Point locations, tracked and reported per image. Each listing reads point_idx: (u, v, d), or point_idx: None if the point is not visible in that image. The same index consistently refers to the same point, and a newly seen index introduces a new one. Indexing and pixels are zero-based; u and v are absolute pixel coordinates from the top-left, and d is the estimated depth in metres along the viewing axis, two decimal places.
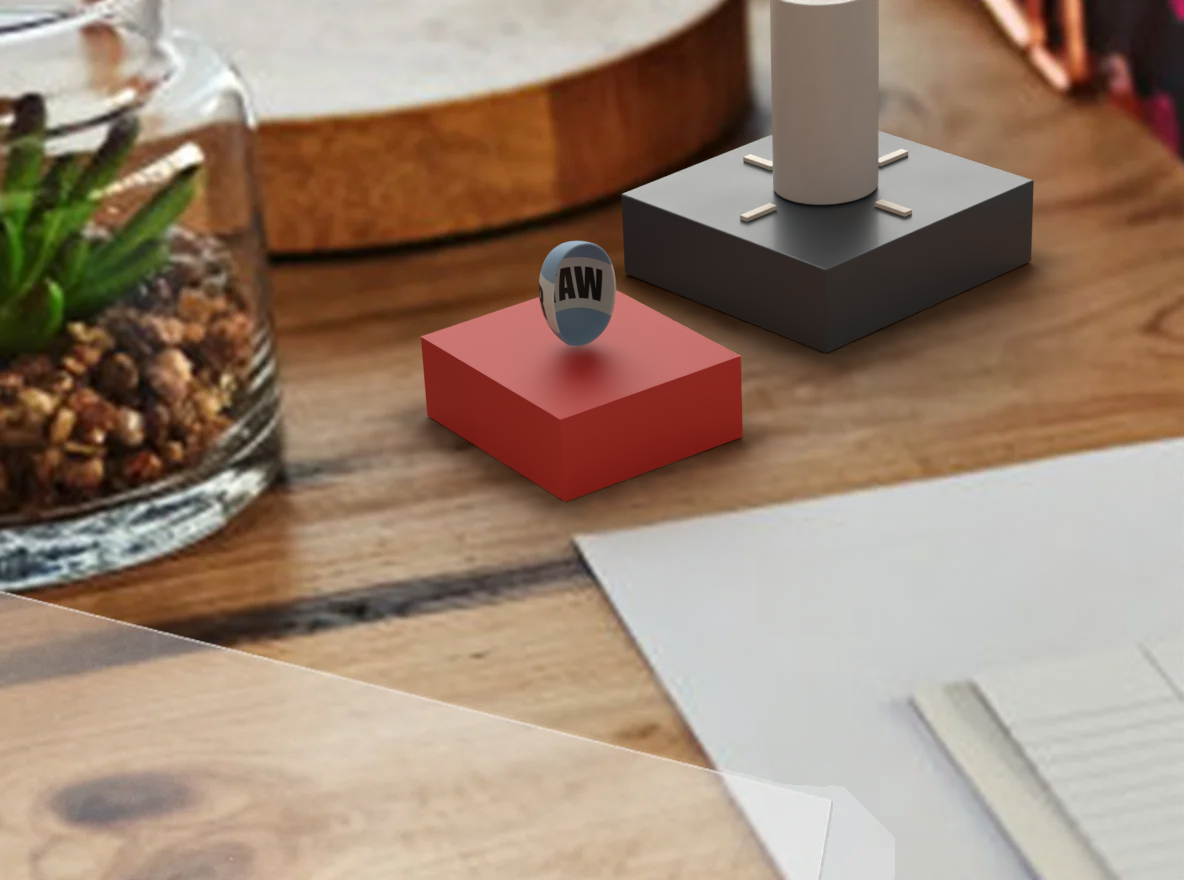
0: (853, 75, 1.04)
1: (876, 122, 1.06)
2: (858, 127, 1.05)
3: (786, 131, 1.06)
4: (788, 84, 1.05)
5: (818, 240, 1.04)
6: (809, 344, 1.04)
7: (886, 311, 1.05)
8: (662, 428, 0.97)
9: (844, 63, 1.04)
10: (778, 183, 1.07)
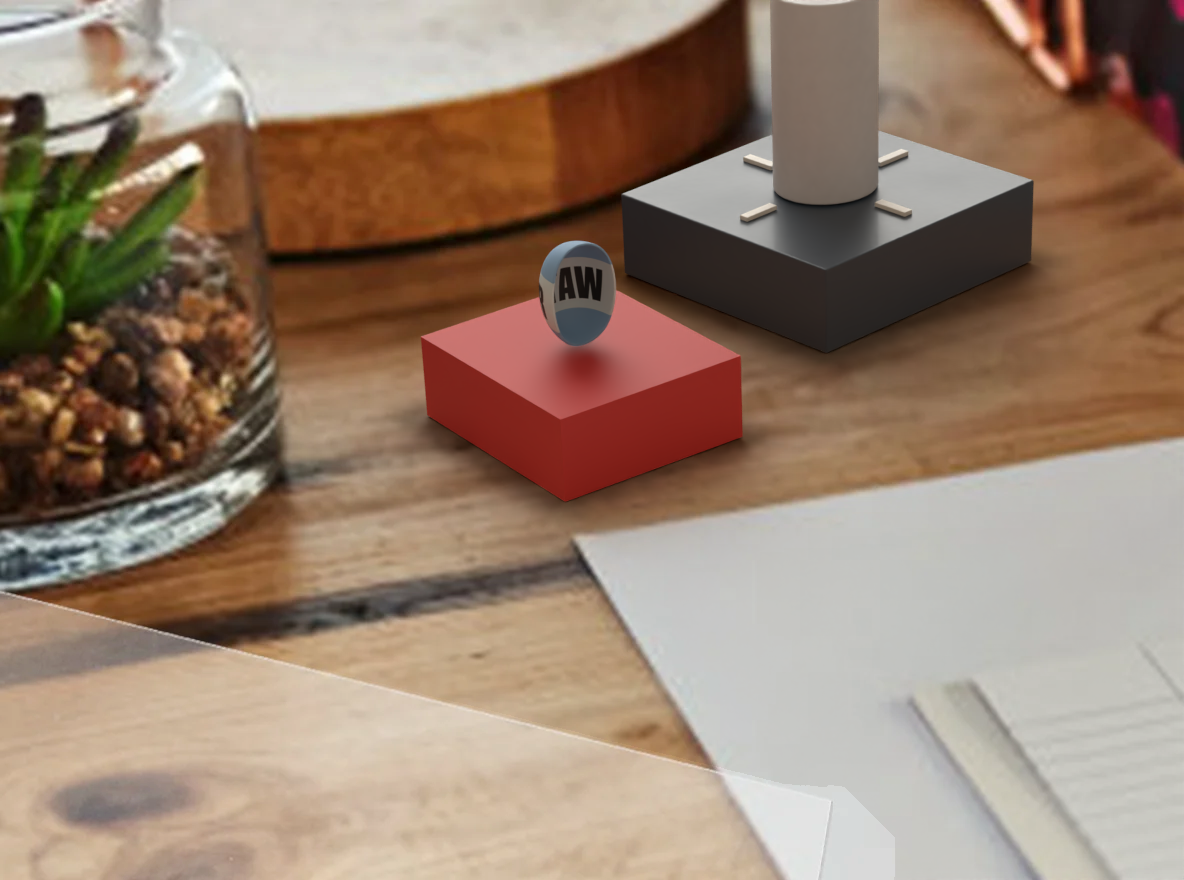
0: (853, 75, 1.04)
1: (876, 122, 1.06)
2: (858, 127, 1.05)
3: (786, 131, 1.06)
4: (788, 84, 1.05)
5: (818, 240, 1.04)
6: (809, 344, 1.04)
7: (886, 311, 1.05)
8: (662, 428, 0.97)
9: (844, 63, 1.04)
10: (778, 183, 1.07)
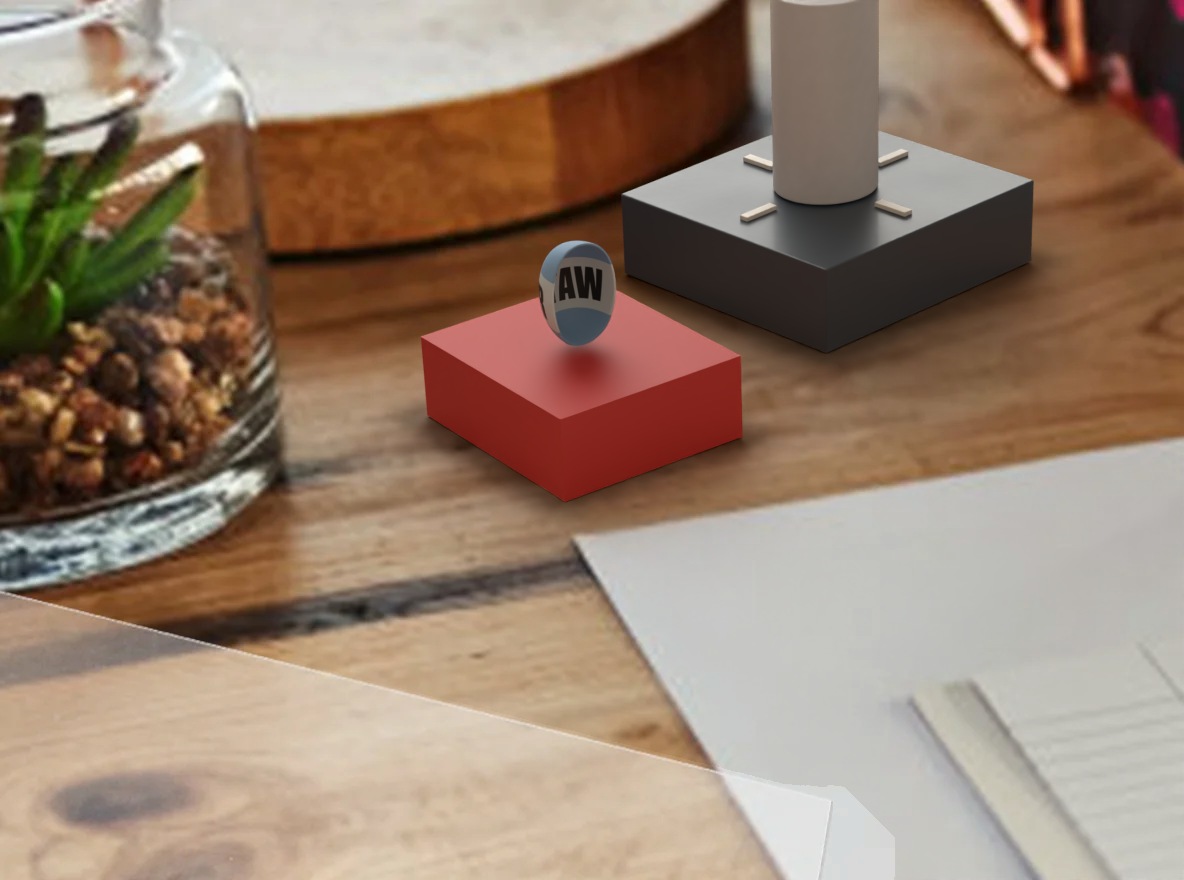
0: (853, 75, 1.04)
1: (876, 122, 1.06)
2: (858, 127, 1.05)
3: (786, 131, 1.06)
4: (788, 84, 1.05)
5: (818, 240, 1.04)
6: (809, 344, 1.04)
7: (886, 311, 1.05)
8: (662, 428, 0.97)
9: (844, 63, 1.04)
10: (778, 183, 1.07)
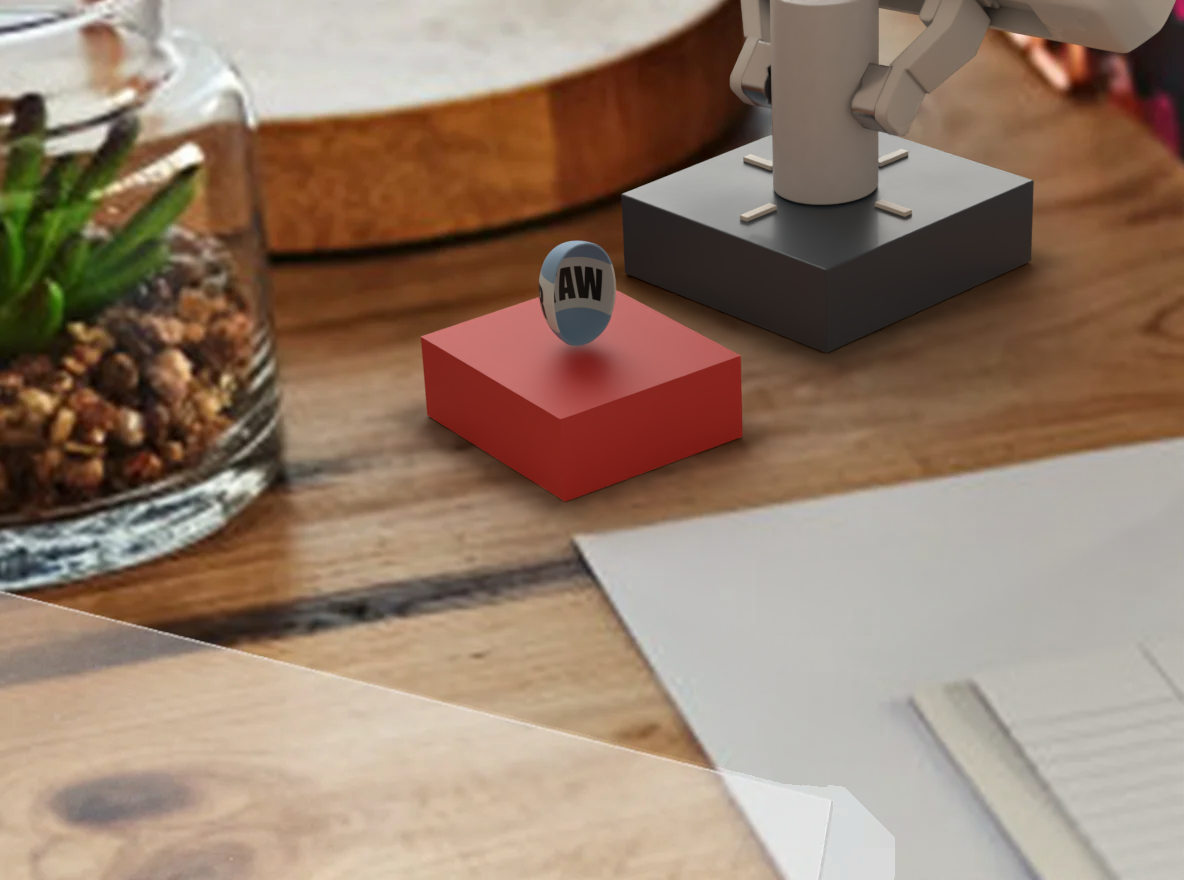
0: (853, 75, 1.04)
1: None
2: (858, 127, 1.05)
3: (786, 131, 1.06)
4: (788, 84, 1.05)
5: (818, 240, 1.04)
6: (809, 344, 1.04)
7: (886, 311, 1.05)
8: (662, 428, 0.97)
9: (844, 63, 1.04)
10: (778, 183, 1.07)
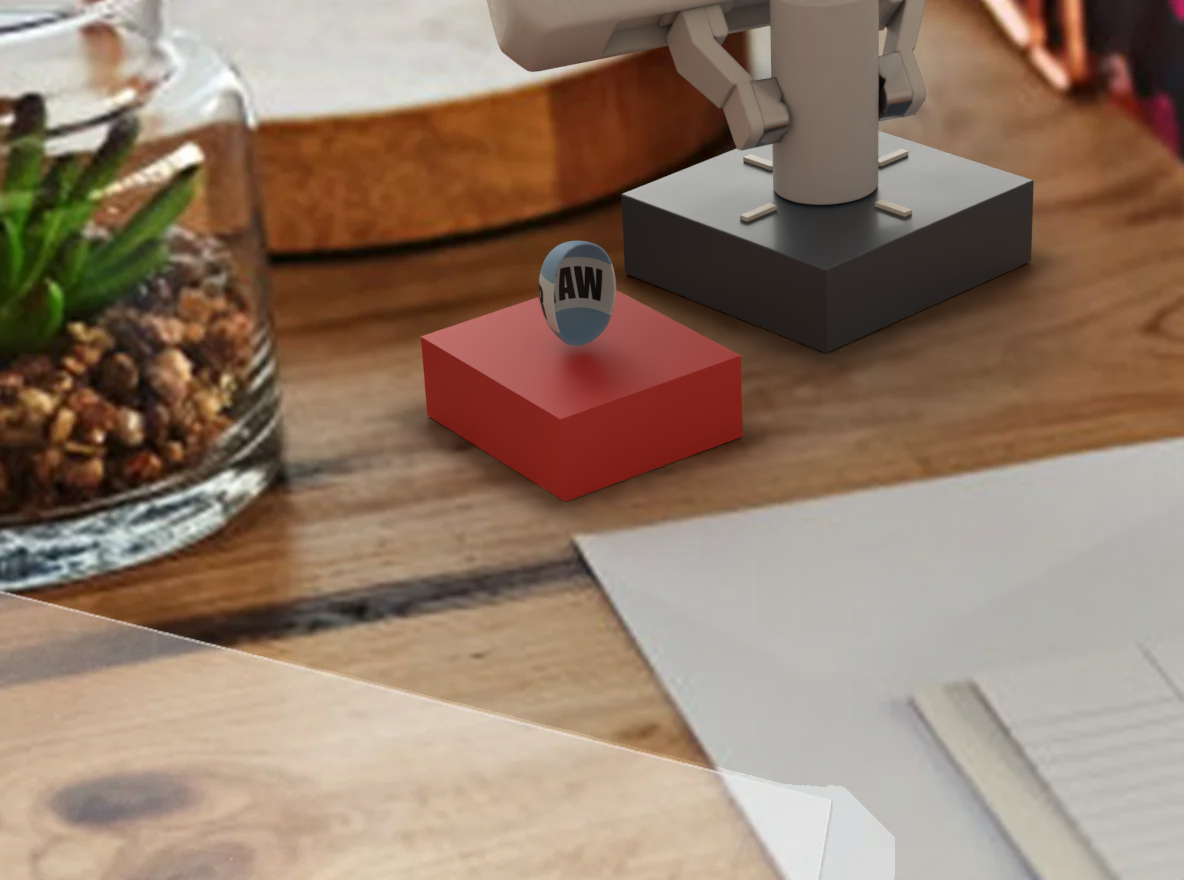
0: (878, 59, 1.05)
1: None
2: (878, 110, 1.06)
3: (833, 135, 1.05)
4: (837, 86, 1.04)
5: (818, 240, 1.04)
6: (809, 344, 1.04)
7: (886, 311, 1.05)
8: (662, 428, 0.97)
9: (877, 49, 1.05)
10: (818, 192, 1.06)
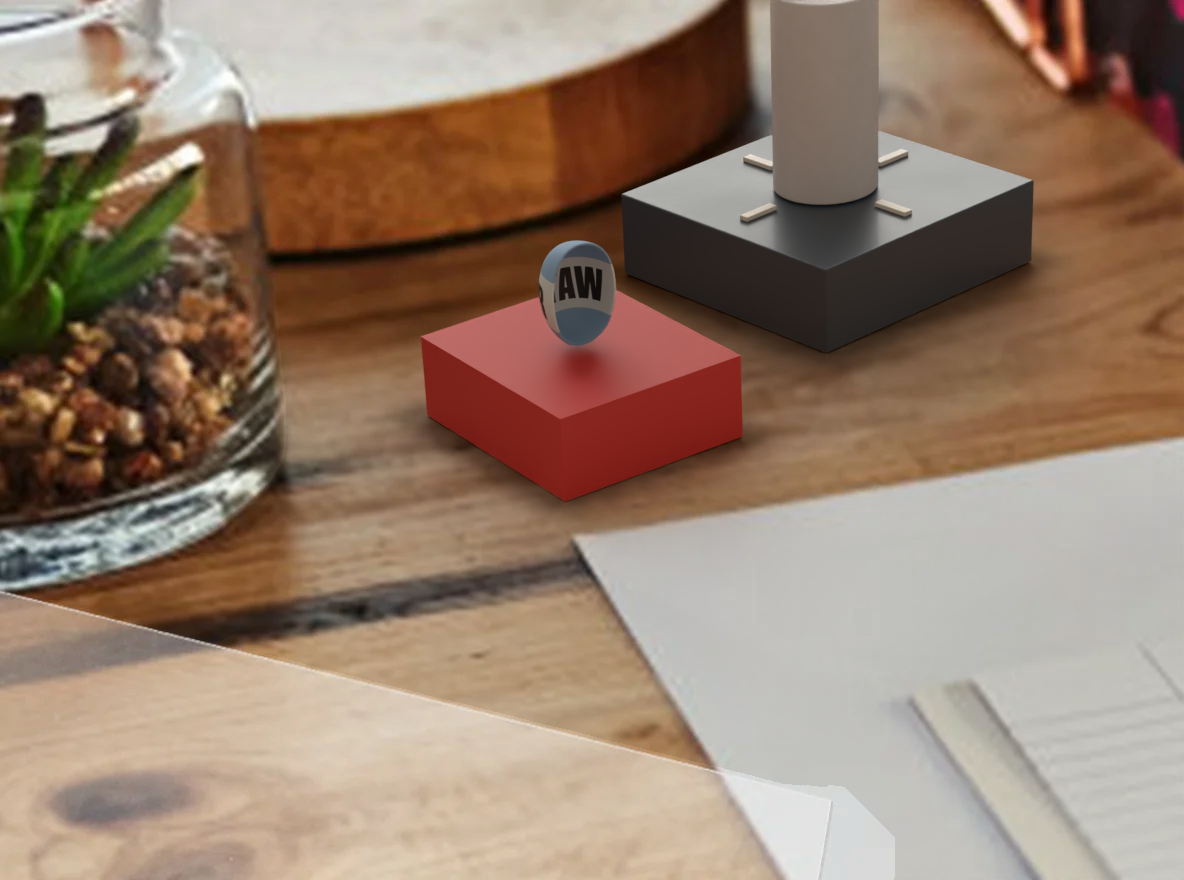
0: (878, 59, 1.05)
1: None
2: (878, 110, 1.06)
3: (833, 135, 1.05)
4: (837, 86, 1.04)
5: (818, 240, 1.04)
6: (809, 344, 1.04)
7: (886, 311, 1.05)
8: (662, 428, 0.97)
9: (877, 49, 1.05)
10: (818, 192, 1.06)
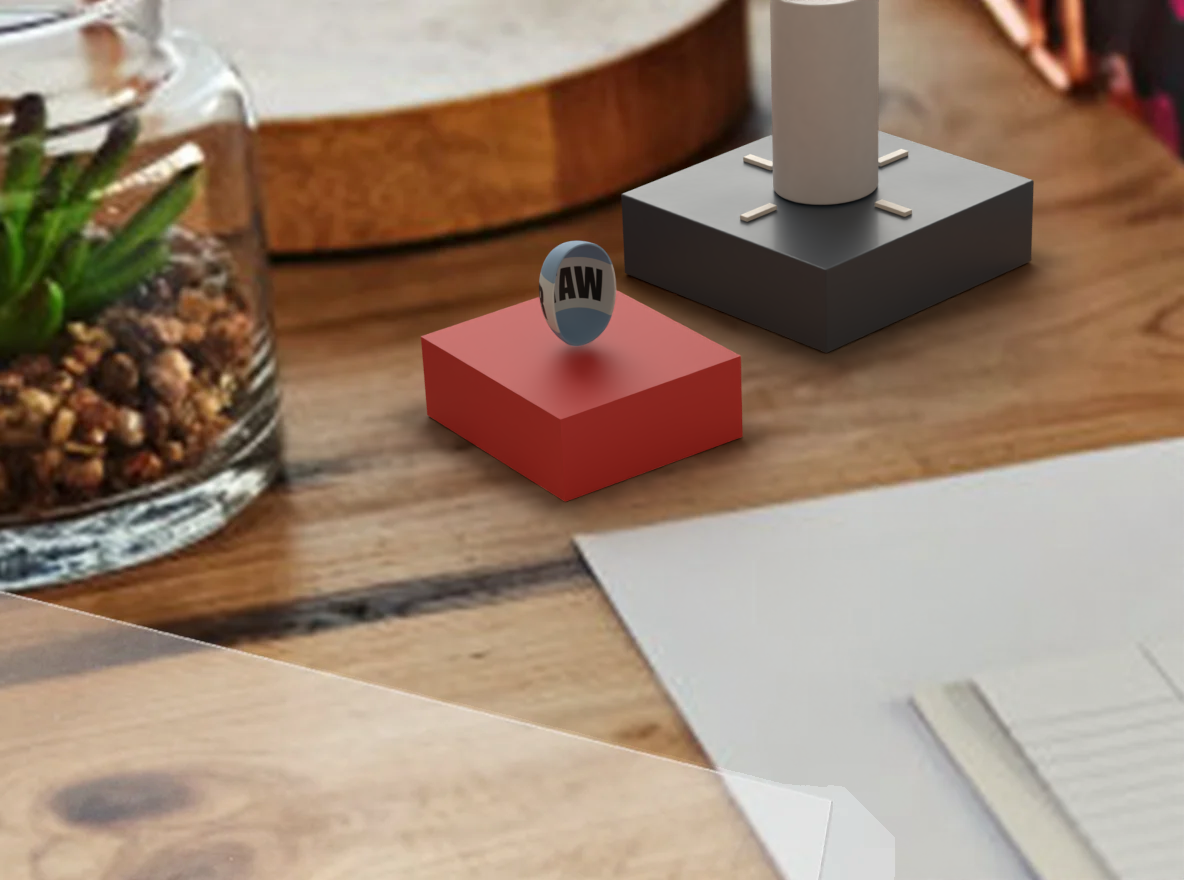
0: (878, 59, 1.05)
1: None
2: (878, 110, 1.06)
3: (833, 135, 1.05)
4: (837, 86, 1.04)
5: (818, 240, 1.04)
6: (809, 344, 1.04)
7: (886, 311, 1.05)
8: (662, 428, 0.97)
9: (877, 49, 1.05)
10: (818, 192, 1.06)
